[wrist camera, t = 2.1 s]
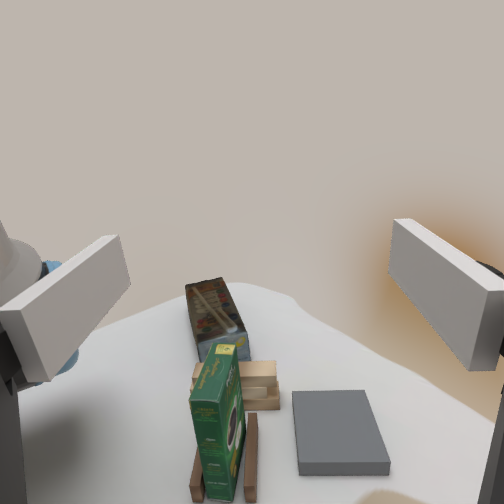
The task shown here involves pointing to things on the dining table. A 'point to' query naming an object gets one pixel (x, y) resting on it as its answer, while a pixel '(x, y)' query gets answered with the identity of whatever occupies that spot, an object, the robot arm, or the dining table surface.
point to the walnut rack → (250, 466)
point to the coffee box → (219, 420)
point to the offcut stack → (254, 384)
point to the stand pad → (337, 434)
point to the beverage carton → (215, 318)
